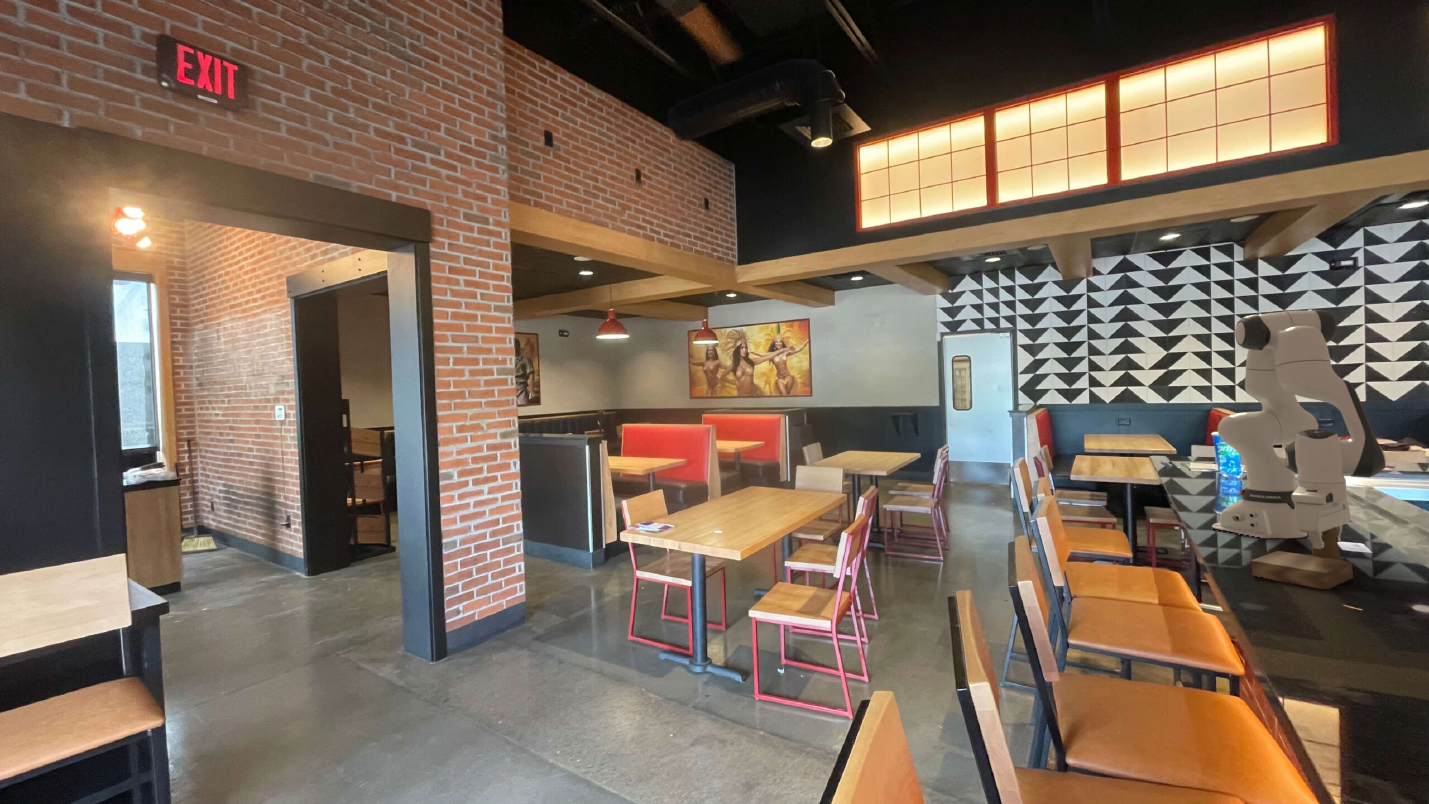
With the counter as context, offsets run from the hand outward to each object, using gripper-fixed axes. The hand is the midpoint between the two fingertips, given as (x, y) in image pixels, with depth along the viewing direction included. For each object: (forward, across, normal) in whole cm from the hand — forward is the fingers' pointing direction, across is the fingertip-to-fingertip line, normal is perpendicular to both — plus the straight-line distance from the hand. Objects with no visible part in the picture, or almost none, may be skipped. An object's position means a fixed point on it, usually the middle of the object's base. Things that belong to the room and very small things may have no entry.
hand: (1326, 545), depth 153 cm
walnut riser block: (+6, +14, 0) cm, 15 cm away
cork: (+6, 0, 0) cm, 6 cm away
